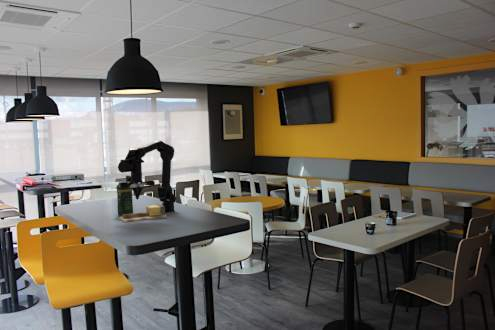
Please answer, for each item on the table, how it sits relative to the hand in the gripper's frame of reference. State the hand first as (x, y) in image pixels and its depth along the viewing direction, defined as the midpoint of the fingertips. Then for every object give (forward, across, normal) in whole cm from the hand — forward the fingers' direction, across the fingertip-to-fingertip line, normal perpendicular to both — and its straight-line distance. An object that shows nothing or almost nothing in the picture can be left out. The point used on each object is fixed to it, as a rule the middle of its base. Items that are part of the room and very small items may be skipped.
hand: (137, 199), depth 219 cm
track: (+11, -3, 0) cm, 11 cm away
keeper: (+9, -9, 0) cm, 13 cm away
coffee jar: (+11, +3, -19) cm, 22 cm away
